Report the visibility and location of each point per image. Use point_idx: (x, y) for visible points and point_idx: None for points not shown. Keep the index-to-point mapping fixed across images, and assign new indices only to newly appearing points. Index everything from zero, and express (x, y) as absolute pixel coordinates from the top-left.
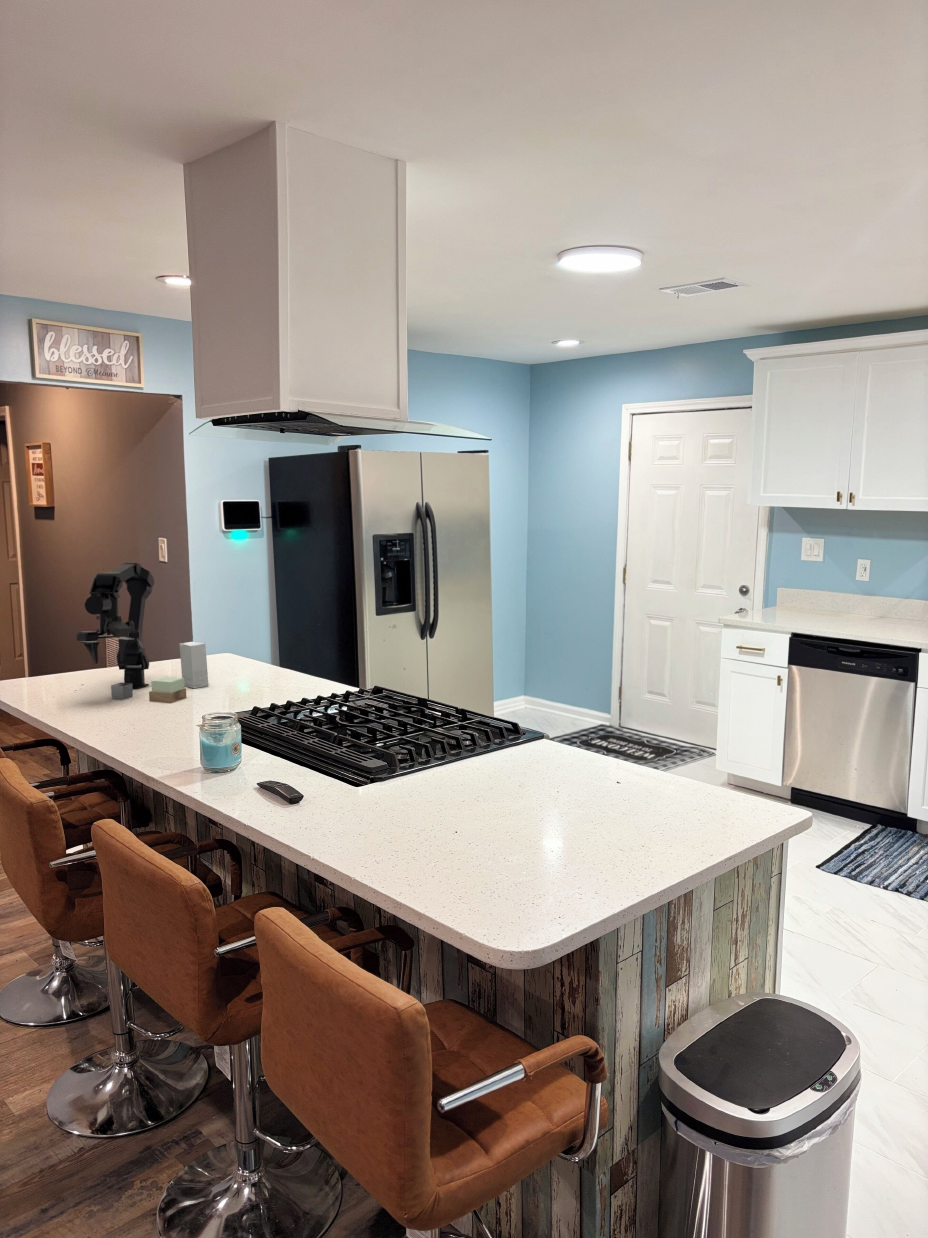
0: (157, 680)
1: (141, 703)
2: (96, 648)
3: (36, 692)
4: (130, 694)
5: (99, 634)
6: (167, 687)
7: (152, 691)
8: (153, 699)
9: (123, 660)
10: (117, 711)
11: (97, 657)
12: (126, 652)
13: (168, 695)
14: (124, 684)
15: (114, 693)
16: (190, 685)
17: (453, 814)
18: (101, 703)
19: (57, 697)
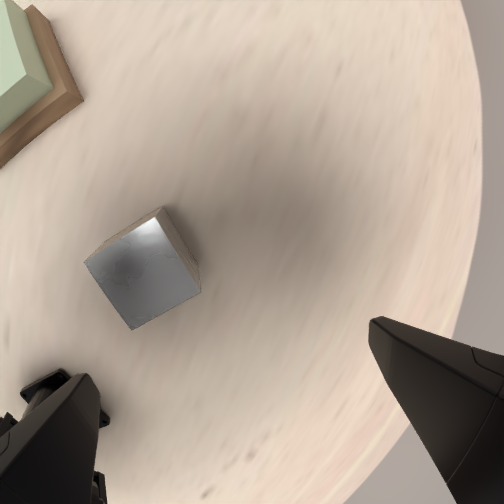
0: (6, 61)
1: (130, 78)
2: (501, 385)
3: (339, 463)
4: (114, 237)
5: None
6: (17, 13)
7: (52, 86)
8: (71, 79)
9: (79, 375)
10: (282, 14)
11: (409, 339)
12: (23, 421)
13: (38, 14)
14: (128, 264)
15: (189, 259)
16: None
17: None
18: (273, 202)
19: (339, 397)
